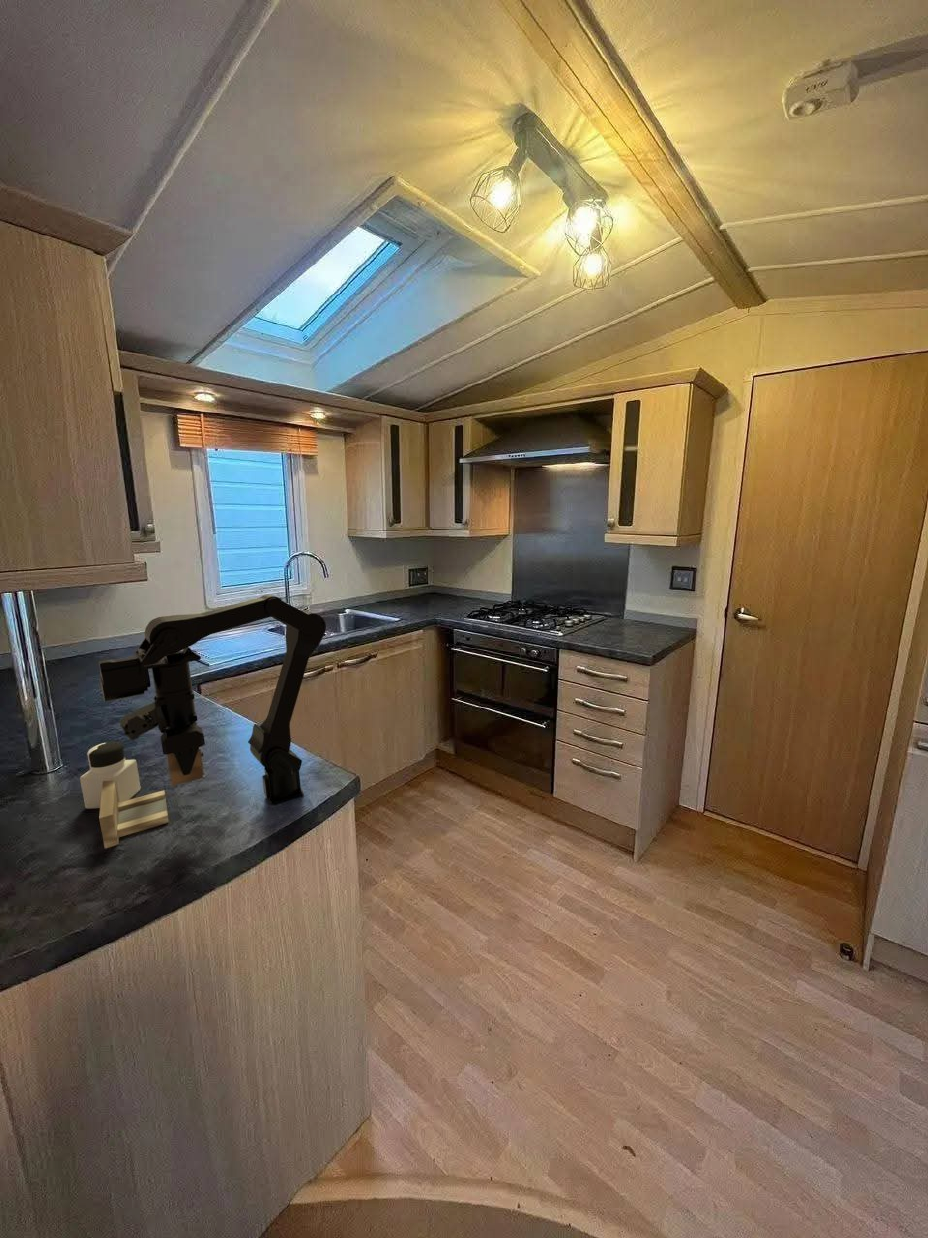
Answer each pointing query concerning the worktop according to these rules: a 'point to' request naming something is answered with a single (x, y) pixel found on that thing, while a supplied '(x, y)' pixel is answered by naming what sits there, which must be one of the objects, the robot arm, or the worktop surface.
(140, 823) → the cleat board
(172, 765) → the cabinet block
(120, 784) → the medicine bottle
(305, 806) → the worktop surface
